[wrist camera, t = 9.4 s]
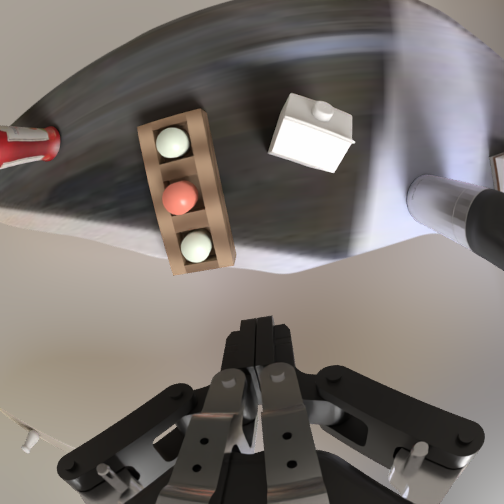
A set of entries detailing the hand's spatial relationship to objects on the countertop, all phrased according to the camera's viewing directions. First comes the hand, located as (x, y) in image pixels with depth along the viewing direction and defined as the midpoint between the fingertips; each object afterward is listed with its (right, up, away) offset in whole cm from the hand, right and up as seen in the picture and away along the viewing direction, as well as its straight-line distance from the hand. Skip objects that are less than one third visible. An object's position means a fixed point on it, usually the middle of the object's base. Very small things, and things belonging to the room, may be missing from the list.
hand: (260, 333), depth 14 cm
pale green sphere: (-12, +20, +27) cm, 36 cm away
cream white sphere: (-9, +6, +32) cm, 34 cm away
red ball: (-10, +12, +27) cm, 32 cm away
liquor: (-39, +25, +29) cm, 55 cm away
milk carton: (+6, +22, +29) cm, 37 cm away
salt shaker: (-97, -76, +65) cm, 139 cm away
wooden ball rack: (-10, +14, +32) cm, 36 cm away
